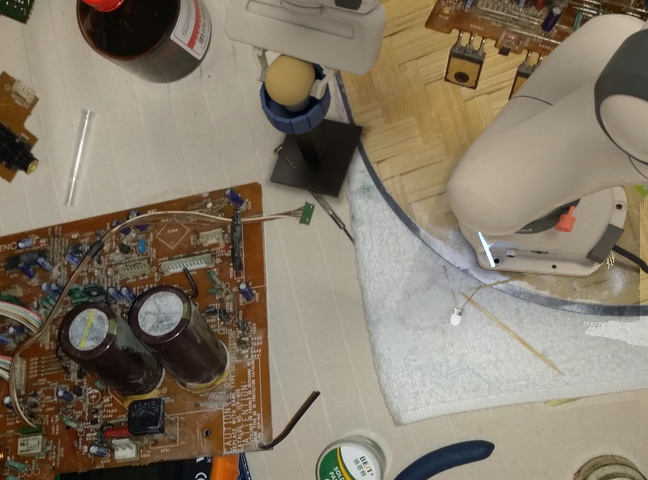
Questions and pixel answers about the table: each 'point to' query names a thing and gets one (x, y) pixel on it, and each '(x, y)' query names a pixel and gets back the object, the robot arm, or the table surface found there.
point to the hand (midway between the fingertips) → (289, 88)
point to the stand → (318, 158)
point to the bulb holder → (297, 120)
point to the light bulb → (290, 82)
